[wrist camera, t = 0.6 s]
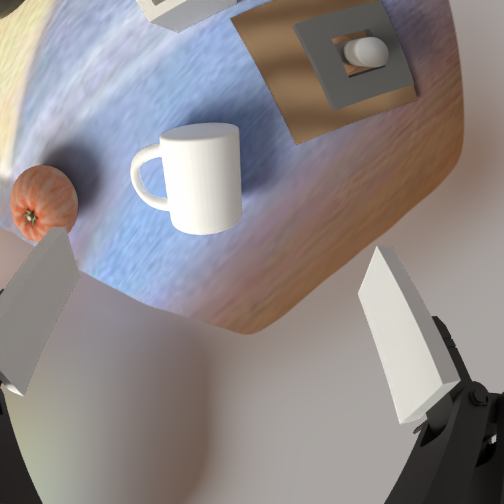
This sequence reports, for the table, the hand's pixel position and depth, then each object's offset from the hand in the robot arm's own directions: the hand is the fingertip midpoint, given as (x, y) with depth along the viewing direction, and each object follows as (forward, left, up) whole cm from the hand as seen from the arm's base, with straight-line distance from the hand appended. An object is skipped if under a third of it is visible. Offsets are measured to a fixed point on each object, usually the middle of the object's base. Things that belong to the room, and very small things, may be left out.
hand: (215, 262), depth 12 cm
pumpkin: (-6, -26, -24) cm, 36 cm away
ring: (-4, +13, -16) cm, 21 cm away
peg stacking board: (-4, +13, -24) cm, 28 cm away
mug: (+1, -7, -24) cm, 25 cm away
